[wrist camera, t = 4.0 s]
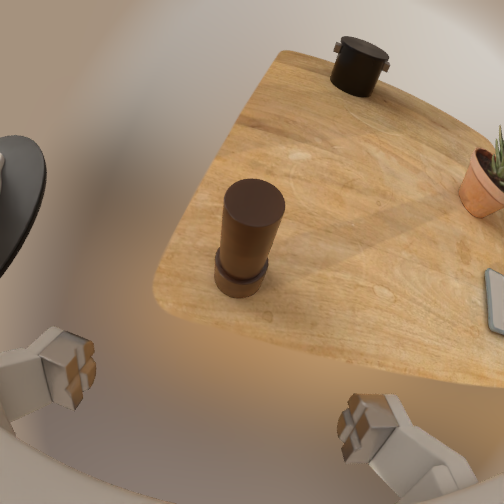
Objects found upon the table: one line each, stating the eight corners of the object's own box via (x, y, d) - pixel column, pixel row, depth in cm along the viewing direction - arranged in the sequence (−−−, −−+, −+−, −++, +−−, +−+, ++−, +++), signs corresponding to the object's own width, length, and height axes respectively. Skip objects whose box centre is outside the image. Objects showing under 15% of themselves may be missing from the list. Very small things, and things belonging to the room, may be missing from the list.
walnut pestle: (207, 289, 24) (207, 217, 15) (223, 248, 26) (232, 166, 17) (254, 305, 24) (281, 241, 15) (267, 263, 26) (297, 187, 17)
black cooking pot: (322, 85, 43) (336, 42, 36) (327, 68, 48) (339, 31, 40) (376, 105, 43) (394, 66, 36) (375, 86, 47) (390, 51, 40)
